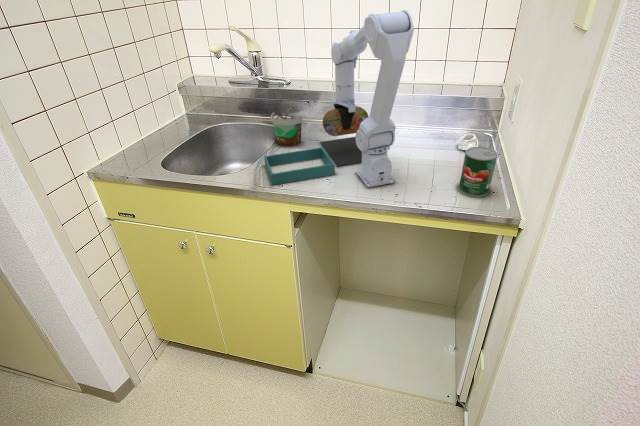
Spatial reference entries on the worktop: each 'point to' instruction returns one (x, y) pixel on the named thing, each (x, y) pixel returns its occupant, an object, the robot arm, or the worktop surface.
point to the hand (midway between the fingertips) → (344, 127)
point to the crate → (299, 173)
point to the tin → (334, 122)
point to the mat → (343, 151)
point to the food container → (287, 129)
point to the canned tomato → (477, 171)
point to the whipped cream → (467, 142)
